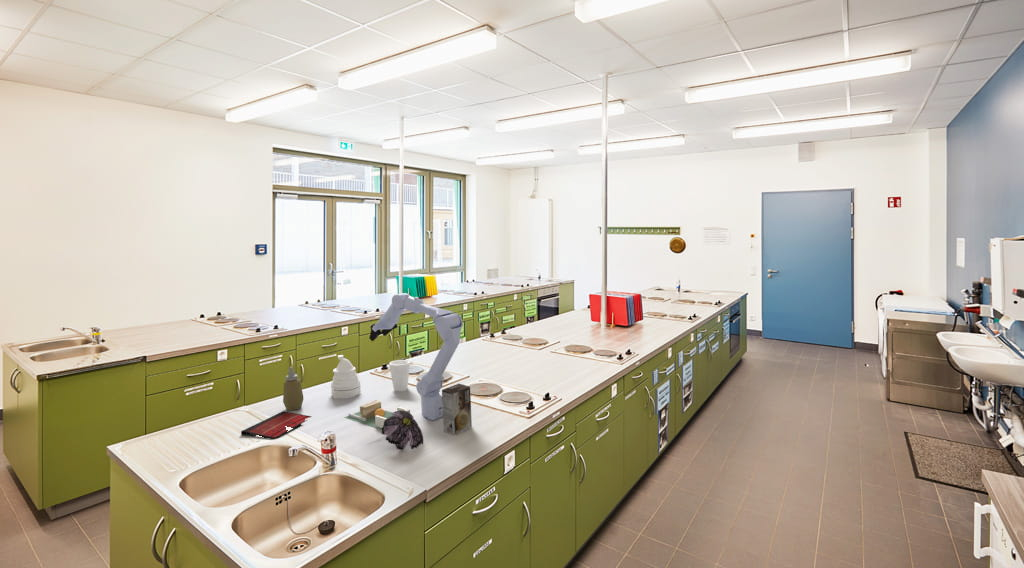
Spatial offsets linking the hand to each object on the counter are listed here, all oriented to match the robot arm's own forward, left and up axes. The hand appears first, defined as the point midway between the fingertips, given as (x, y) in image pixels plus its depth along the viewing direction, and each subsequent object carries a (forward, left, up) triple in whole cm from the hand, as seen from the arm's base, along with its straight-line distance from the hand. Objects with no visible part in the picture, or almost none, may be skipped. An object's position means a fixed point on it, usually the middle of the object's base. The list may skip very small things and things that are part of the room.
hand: (377, 336), depth 206 cm
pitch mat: (-15, +13, -30) cm, 35 cm away
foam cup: (+7, -18, -30) cm, 35 cm away
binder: (+13, +38, -30) cm, 51 cm away
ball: (-16, +13, -27) cm, 34 cm away
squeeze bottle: (+27, +24, -30) cm, 47 cm away
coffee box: (-48, +3, -30) cm, 56 cm away
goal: (-24, +13, -30) cm, 40 cm away
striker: (-10, +13, -29) cm, 33 cm away
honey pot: (+24, 0, -30) cm, 39 cm away
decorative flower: (-40, +22, -30) cm, 54 cm away
